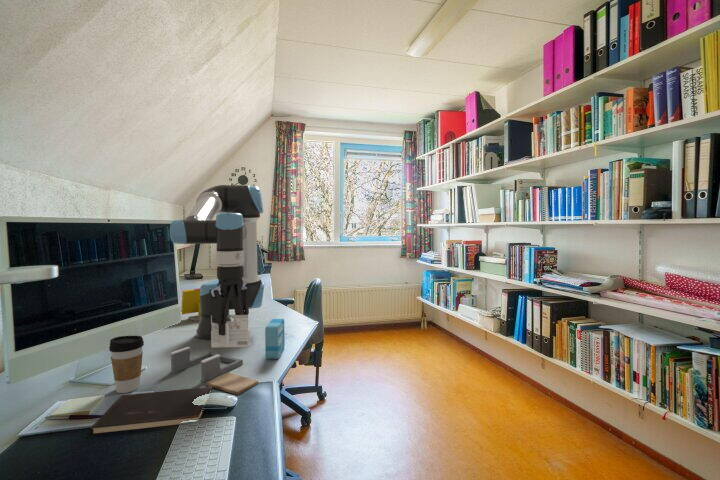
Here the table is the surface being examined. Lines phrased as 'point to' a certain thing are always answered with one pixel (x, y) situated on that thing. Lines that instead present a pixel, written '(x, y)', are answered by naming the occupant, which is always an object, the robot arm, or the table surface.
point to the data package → (274, 339)
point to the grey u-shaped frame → (203, 363)
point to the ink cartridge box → (233, 332)
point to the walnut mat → (232, 383)
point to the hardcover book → (151, 410)
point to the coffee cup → (126, 362)
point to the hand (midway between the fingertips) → (231, 342)
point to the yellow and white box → (191, 303)
